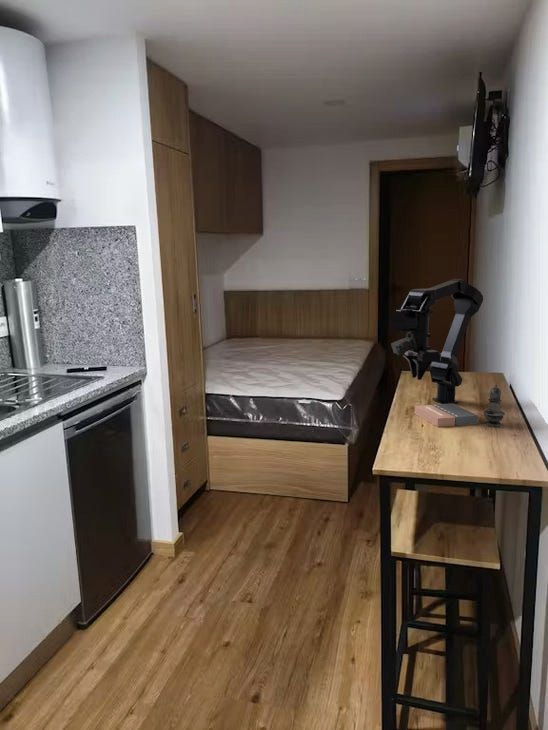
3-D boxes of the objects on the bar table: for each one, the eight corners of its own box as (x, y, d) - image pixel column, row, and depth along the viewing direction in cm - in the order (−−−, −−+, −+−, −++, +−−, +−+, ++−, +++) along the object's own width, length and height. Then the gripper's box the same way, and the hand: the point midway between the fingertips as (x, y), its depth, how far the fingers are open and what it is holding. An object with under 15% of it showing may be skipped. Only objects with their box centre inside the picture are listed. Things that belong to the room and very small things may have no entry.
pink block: (414, 413, 175) (414, 405, 174) (430, 412, 176) (431, 404, 176) (437, 426, 162) (437, 418, 161) (454, 425, 163) (455, 416, 162)
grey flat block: (431, 412, 176) (432, 404, 176) (452, 410, 178) (452, 403, 177) (456, 425, 163) (456, 416, 162) (477, 423, 164) (478, 415, 164)
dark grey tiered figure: (502, 422, 166) (505, 382, 163) (505, 428, 160) (508, 387, 158) (481, 420, 167) (484, 381, 165) (483, 426, 162) (486, 386, 159)
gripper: (382, 327, 182) (381, 374, 185) (409, 334, 165) (406, 386, 168) (414, 326, 185) (411, 372, 188) (443, 333, 167) (440, 384, 170)
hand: (416, 378), depth 178 cm, fingers open, 3 cm apart
